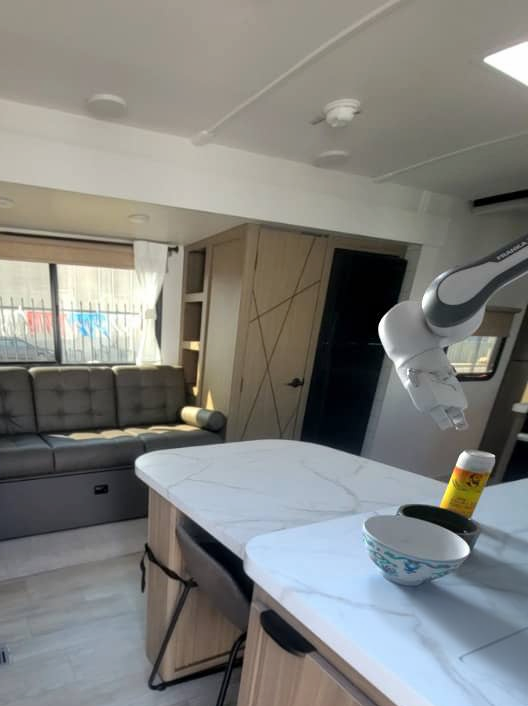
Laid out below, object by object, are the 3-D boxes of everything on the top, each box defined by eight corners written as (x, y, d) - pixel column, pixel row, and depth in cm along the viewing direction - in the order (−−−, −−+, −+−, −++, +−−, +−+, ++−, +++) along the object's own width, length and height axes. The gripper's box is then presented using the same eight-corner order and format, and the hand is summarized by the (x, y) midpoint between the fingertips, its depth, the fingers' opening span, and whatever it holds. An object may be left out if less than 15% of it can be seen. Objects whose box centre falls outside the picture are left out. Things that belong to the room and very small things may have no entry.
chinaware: (378, 600, 63) (393, 557, 59) (337, 550, 76) (348, 513, 73) (474, 603, 63) (495, 561, 59) (416, 553, 76) (431, 516, 73)
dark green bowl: (445, 530, 85) (455, 506, 83) (486, 564, 73) (499, 538, 71) (379, 524, 87) (387, 501, 84) (408, 557, 75) (418, 531, 72)
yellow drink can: (443, 521, 89) (469, 456, 83) (432, 510, 95) (456, 447, 88) (474, 525, 88) (503, 459, 82) (462, 513, 94) (488, 451, 87)
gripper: (422, 357, 79) (456, 419, 75) (457, 368, 91) (487, 422, 88) (389, 377, 83) (420, 436, 80) (427, 385, 96) (455, 436, 92)
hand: (456, 428), depth 84 cm, fingers open, 8 cm apart
